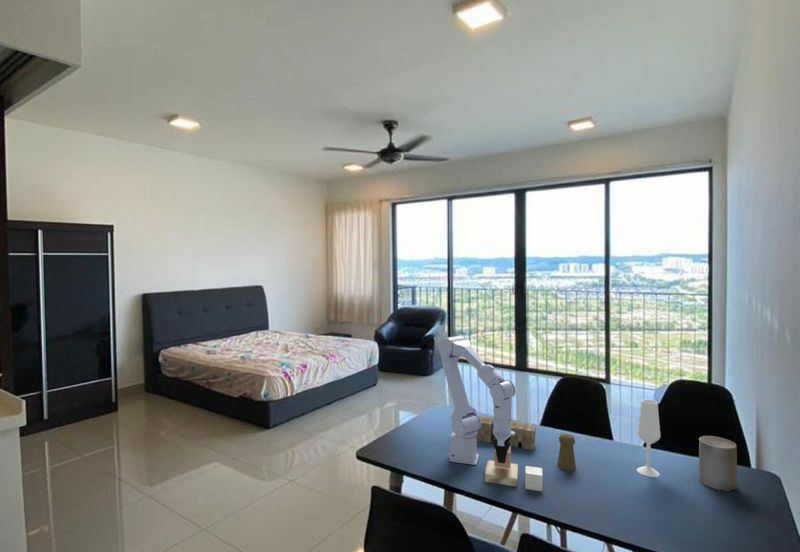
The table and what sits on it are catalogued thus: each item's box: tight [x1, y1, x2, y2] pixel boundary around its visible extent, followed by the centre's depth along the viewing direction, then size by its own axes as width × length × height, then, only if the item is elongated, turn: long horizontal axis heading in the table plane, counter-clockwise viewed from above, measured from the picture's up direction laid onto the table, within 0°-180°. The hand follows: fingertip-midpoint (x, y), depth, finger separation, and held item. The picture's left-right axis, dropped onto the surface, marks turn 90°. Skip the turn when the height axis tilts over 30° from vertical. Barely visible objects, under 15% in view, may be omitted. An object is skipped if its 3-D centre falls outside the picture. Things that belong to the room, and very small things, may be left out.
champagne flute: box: [636, 398, 661, 478], centre depth 142 cm, size 7×7×24 cm
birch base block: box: [484, 459, 519, 487], centre depth 139 cm, size 10×10×3 cm
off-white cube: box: [524, 465, 543, 492], centre depth 133 cm, size 5×5×5 cm
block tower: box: [462, 414, 537, 451], centre depth 168 cm, size 8×8×29 cm
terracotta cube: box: [493, 446, 512, 468], centre depth 139 cm, size 5×5×5 cm
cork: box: [557, 433, 577, 472], centre depth 146 cm, size 6×6×11 cm
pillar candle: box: [698, 435, 738, 492], centre depth 135 cm, size 10×10×15 cm
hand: (501, 458), depth 139 cm, fingers closed on terracotta cube, 5 cm apart
